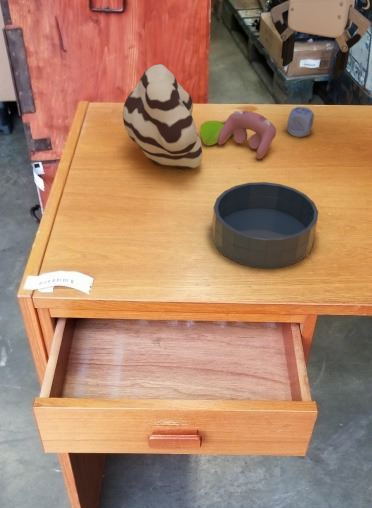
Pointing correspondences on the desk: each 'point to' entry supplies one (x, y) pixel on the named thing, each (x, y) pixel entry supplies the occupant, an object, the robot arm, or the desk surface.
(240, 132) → the video game controller
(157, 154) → the sculpture
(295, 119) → the decorative dice
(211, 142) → the decorative leaf
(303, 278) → the desk surface
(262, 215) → the basin
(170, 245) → the desk surface
